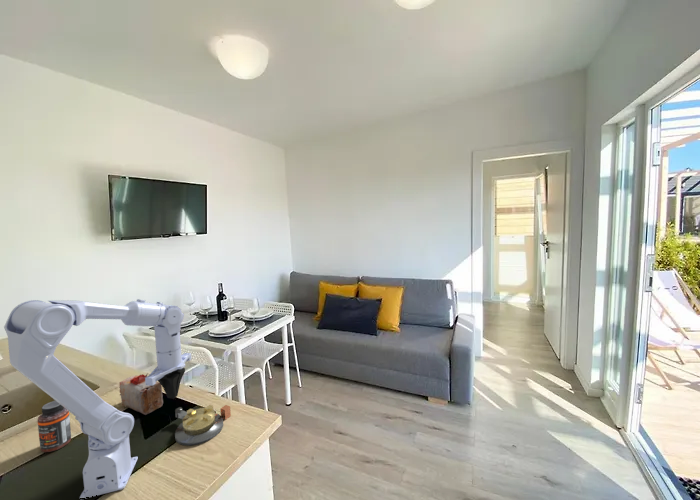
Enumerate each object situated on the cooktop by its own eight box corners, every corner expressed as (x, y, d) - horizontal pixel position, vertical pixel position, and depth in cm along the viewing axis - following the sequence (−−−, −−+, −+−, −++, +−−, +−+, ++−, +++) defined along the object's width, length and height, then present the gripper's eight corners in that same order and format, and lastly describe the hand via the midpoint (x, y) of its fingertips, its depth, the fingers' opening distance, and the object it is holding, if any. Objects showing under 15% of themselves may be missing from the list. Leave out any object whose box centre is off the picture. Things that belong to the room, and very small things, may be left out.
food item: (116, 406, 97) (113, 377, 96) (142, 394, 104) (140, 366, 103) (142, 418, 91) (139, 386, 90) (168, 403, 98) (166, 374, 97)
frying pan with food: (195, 451, 77) (194, 440, 77) (165, 437, 82) (164, 427, 82) (238, 418, 90) (237, 408, 90) (209, 408, 95) (209, 399, 95)
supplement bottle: (34, 456, 77) (29, 413, 76) (49, 440, 82) (45, 400, 81) (63, 450, 78) (58, 408, 77) (76, 435, 84) (72, 396, 83)
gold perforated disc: (222, 420, 87) (222, 408, 87) (196, 439, 79) (195, 426, 79) (190, 408, 93) (189, 397, 93) (163, 424, 85) (162, 413, 85)
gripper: (161, 361, 74) (165, 414, 76) (199, 339, 89) (202, 383, 90) (136, 360, 75) (140, 412, 77) (177, 338, 90) (180, 382, 91)
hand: (172, 396), depth 83 cm, fingers closed
